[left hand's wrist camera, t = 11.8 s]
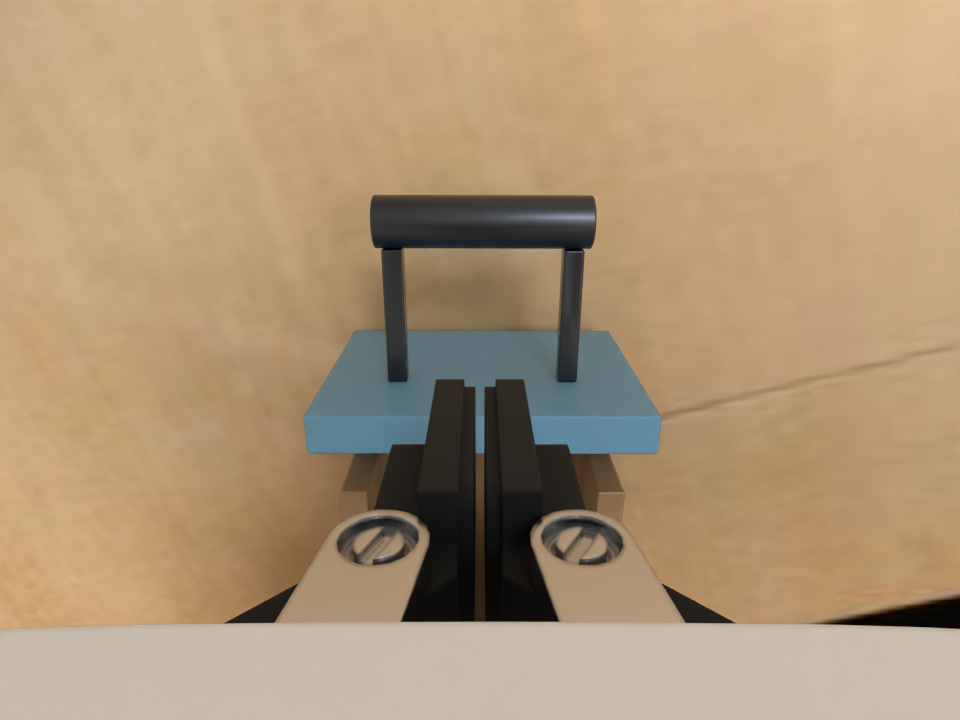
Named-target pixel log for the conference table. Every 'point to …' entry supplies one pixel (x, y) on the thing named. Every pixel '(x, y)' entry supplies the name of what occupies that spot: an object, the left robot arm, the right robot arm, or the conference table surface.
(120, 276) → the conference table surface
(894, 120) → the conference table surface
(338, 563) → the left robot arm
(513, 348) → the drawer
